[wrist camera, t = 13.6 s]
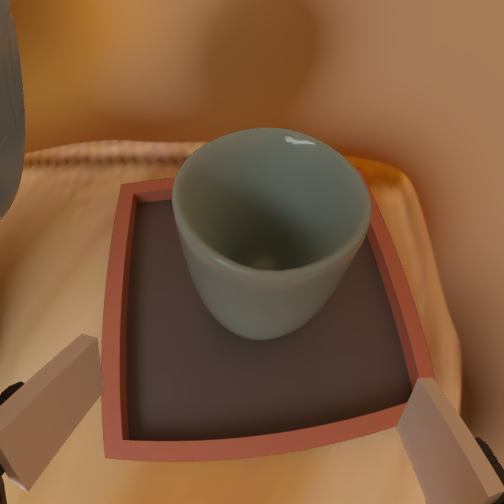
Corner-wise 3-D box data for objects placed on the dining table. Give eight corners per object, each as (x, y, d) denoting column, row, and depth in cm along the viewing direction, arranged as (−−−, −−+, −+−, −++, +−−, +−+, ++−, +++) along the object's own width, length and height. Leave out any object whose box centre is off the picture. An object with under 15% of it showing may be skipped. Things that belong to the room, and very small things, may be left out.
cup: (178, 279, 21) (140, 168, 12) (272, 227, 23) (288, 110, 15) (243, 378, 17) (245, 324, 9) (342, 309, 20) (409, 212, 11)
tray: (128, 203, 26) (121, 184, 24) (352, 187, 27) (360, 168, 25) (119, 455, 15) (105, 457, 13) (422, 412, 17) (441, 408, 15)
